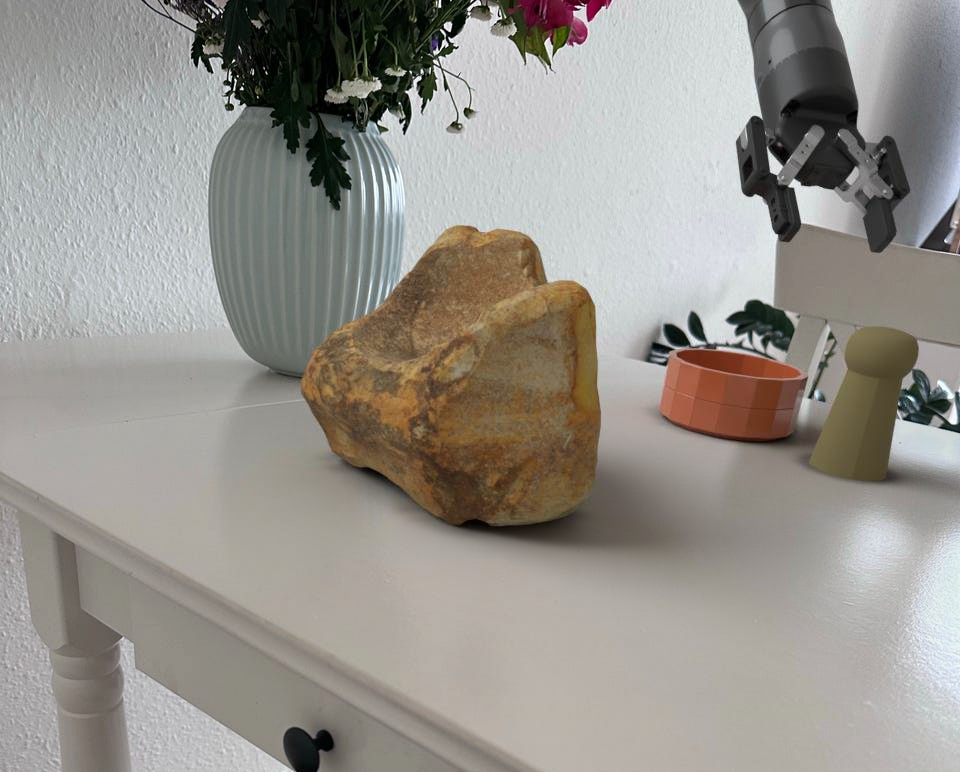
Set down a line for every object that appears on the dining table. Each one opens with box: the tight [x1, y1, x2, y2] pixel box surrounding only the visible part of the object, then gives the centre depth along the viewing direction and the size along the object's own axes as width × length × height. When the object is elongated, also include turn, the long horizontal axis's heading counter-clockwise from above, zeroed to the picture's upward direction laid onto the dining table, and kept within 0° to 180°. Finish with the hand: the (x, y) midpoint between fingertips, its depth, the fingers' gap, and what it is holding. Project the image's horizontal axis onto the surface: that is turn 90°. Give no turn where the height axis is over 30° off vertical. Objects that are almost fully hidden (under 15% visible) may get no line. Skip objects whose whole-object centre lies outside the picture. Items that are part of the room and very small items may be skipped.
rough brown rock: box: [300, 224, 602, 527], centre depth 60 cm, size 23×17×15 cm
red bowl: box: [658, 347, 809, 442], centre depth 85 cm, size 12×12×6 cm
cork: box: [808, 325, 920, 482], centre depth 74 cm, size 6×6×11 cm
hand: (837, 241), depth 78 cm, fingers open, 8 cm apart
